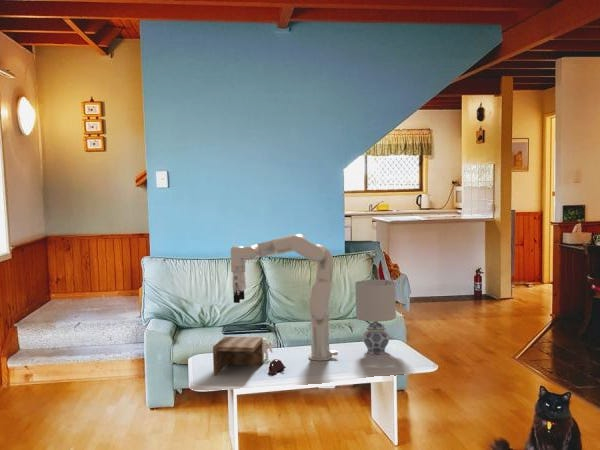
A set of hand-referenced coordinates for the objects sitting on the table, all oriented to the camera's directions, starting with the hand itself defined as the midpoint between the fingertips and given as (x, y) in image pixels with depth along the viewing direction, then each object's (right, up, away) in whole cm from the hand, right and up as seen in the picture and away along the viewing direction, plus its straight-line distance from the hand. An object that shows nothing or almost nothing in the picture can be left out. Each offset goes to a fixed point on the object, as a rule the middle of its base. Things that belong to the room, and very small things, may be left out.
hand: (239, 301), depth 311 cm
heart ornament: (+20, -32, -25) cm, 45 cm away
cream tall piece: (+14, -30, -4) cm, 34 cm away
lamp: (+74, -29, +5) cm, 79 cm away
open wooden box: (+2, -31, -21) cm, 38 cm away
